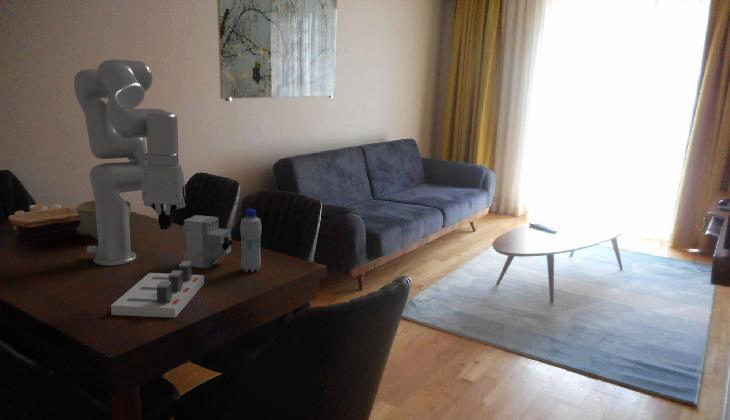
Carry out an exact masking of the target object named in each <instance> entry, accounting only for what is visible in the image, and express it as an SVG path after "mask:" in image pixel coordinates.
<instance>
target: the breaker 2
mask: <svg viewBox="0 0 730 420" xmlns="http://www.w3.org/2000/svg"><path fill="white" fill-rule="evenodd" d="M192 269H193V266H192V261H184V260H182V261H181V263H179V264H178V271H182V280H187V281H188V280H189V279H190V278H191V277H192V275H193V271H192Z"/></svg>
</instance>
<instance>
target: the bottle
mask: <svg viewBox="0 0 730 420" xmlns="http://www.w3.org/2000/svg"><path fill="white" fill-rule="evenodd" d="M244 213H245V215H244V216H245V217H242V218H241V219H240V226H239V231H240V233H239V234H240V239H241V240H240V241H241V243H240V244H241V245H240V246H241V247H240V249H241V255H240V268H241V270H242V271H243V272H245V273H249V271H250V273H254V272H259V270H260V269H261V265H262V257H261V255H262V254H261V235H262V231H263V230H262V228H263V227H262V221H261V218H259V217H257V211H256V209H253V208H248V209H246V210H245V212H244Z"/></svg>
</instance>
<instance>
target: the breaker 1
mask: <svg viewBox="0 0 730 420" xmlns="http://www.w3.org/2000/svg"><path fill="white" fill-rule="evenodd" d="M171 298H172V283H171V281H161V282H160V283H159V284H158V285H157V302H158V303H167V302H168V301H169V300H170V299H171Z"/></svg>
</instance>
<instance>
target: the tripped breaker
mask: <svg viewBox="0 0 730 420" xmlns="http://www.w3.org/2000/svg"><path fill="white" fill-rule="evenodd" d="M168 274H169V281H171V283H172V291H179V290H180V289H181V288H182V286H183V280H182V271H179V270H176V269H175V270H172V271H171V272H170V273H168Z"/></svg>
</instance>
